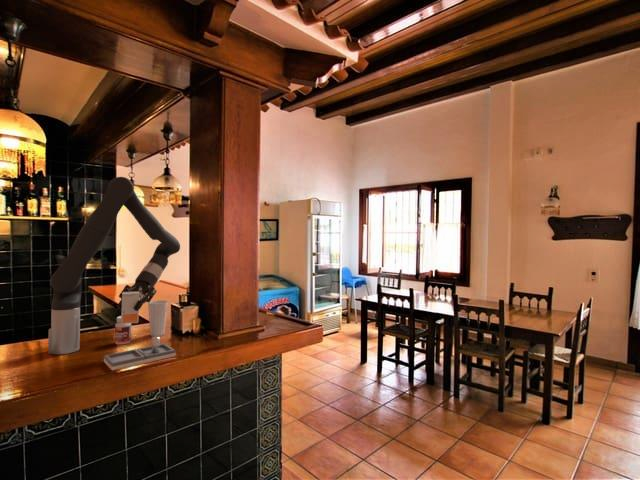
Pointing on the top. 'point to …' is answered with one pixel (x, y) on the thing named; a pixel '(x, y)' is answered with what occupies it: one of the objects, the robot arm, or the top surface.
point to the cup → (157, 317)
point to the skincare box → (129, 307)
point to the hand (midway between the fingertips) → (127, 308)
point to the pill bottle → (122, 332)
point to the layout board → (139, 355)
